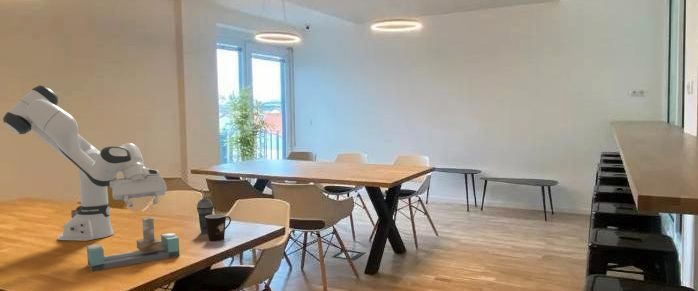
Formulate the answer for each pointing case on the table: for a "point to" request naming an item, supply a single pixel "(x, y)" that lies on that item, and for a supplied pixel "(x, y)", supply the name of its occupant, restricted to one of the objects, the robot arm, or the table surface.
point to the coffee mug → (216, 226)
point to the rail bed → (132, 254)
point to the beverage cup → (204, 212)
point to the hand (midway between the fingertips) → (143, 204)
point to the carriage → (148, 237)
